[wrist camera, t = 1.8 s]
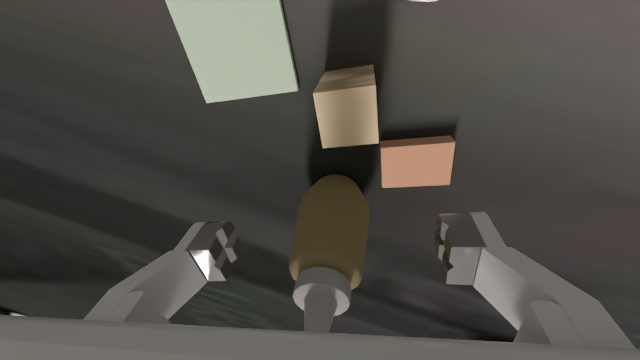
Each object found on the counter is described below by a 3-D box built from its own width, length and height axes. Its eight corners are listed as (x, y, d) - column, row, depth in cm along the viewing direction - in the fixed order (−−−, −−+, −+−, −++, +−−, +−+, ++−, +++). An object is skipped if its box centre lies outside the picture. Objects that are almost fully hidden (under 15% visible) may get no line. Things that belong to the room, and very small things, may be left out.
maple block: (373, 64, 24) (375, 85, 18) (375, 112, 27) (378, 143, 21) (324, 71, 25) (312, 93, 19) (331, 117, 27) (322, 148, 22)
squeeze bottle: (358, 157, 30) (352, 314, 15) (377, 210, 34) (387, 377, 19) (294, 174, 32) (234, 323, 17) (318, 222, 36) (286, 376, 21)
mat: (272, -40, 21) (270, -41, 20) (299, 89, 26) (298, 90, 26) (164, -13, 23) (159, -13, 22) (209, 101, 28) (206, 103, 28)
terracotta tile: (449, 133, 27) (455, 142, 25) (444, 174, 30) (449, 184, 28) (379, 139, 29) (380, 147, 27) (381, 177, 31) (382, 187, 30)
